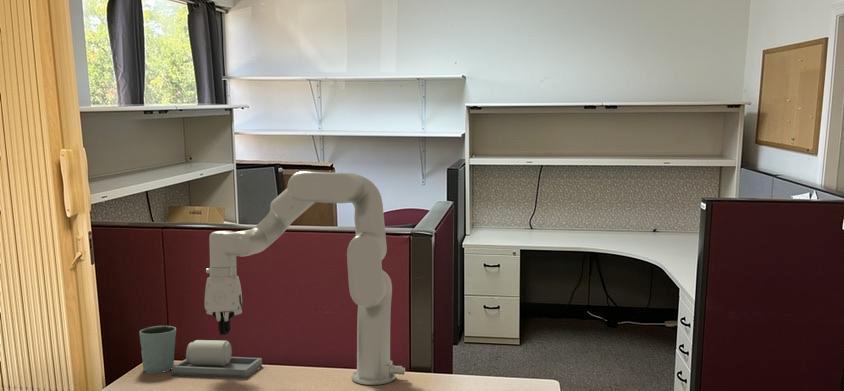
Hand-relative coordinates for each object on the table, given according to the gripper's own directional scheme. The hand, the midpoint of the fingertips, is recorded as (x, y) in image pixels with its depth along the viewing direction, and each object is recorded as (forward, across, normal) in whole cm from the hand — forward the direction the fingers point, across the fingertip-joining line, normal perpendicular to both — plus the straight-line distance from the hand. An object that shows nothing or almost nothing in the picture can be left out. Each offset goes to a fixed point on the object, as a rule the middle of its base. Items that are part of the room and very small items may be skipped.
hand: (224, 333), depth 185 cm
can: (+6, 0, +2) cm, 7 cm away
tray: (+11, -2, 0) cm, 11 cm away
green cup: (+11, -21, -1) cm, 24 cm away
